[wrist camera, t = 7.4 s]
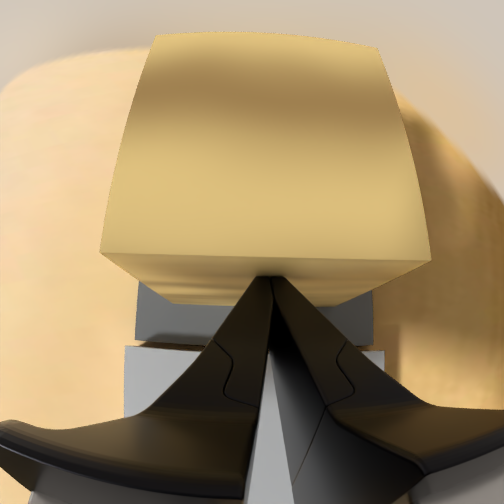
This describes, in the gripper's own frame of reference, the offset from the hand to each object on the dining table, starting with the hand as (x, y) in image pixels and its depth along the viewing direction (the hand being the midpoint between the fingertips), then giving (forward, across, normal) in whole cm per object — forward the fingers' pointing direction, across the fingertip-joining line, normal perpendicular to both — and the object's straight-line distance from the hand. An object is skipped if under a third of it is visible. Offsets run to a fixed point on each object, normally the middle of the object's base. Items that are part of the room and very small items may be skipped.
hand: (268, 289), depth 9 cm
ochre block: (+8, 0, +2) cm, 8 cm away
